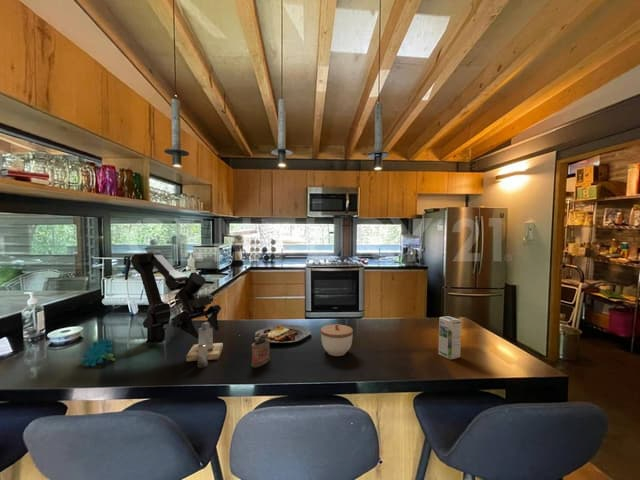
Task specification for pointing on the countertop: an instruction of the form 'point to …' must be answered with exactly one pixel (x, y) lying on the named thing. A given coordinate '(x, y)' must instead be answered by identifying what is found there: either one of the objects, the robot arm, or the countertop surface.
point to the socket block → (211, 354)
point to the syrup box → (449, 337)
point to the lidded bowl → (336, 339)
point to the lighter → (260, 350)
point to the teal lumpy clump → (98, 353)
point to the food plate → (283, 333)
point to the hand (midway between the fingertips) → (208, 333)
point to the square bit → (206, 335)
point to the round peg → (202, 355)
